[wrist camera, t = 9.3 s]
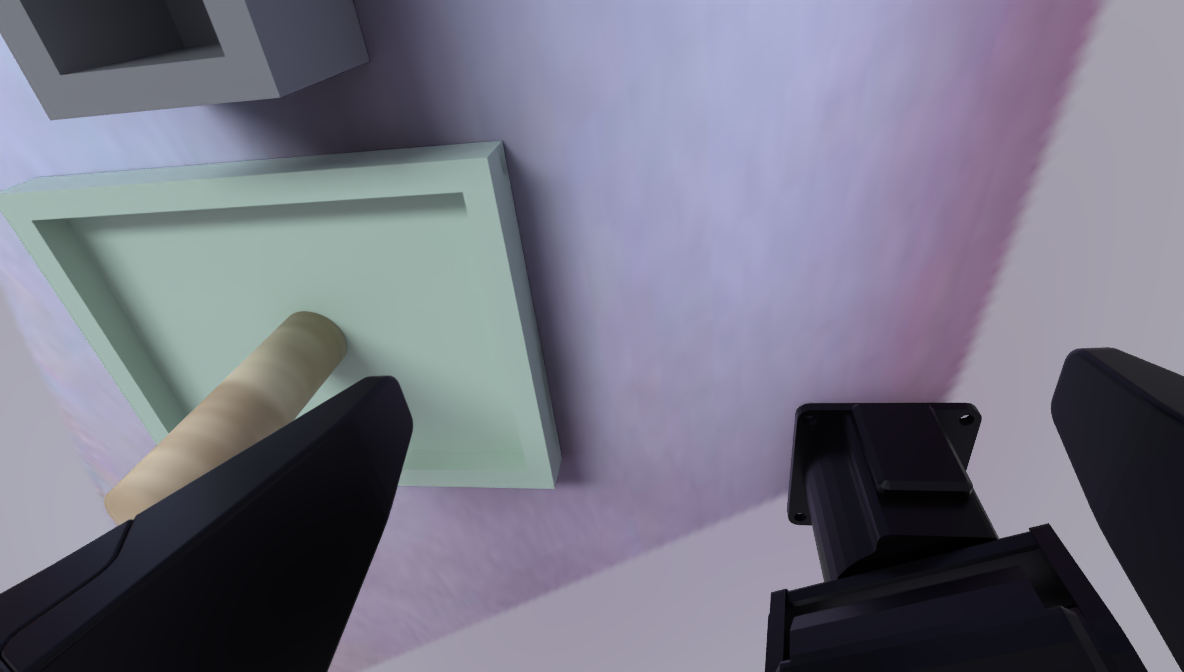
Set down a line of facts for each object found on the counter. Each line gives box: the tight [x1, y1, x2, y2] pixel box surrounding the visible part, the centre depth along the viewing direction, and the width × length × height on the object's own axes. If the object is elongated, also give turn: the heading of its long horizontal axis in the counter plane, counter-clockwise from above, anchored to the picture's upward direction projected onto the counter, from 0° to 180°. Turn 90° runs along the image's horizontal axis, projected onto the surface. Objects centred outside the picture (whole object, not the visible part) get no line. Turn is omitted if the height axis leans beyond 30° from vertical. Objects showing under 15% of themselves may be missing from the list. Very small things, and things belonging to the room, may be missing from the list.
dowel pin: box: [104, 311, 347, 526], centre depth 21 cm, size 3×3×9 cm
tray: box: [0, 141, 562, 489], centre depth 24 cm, size 14×18×2 cm
